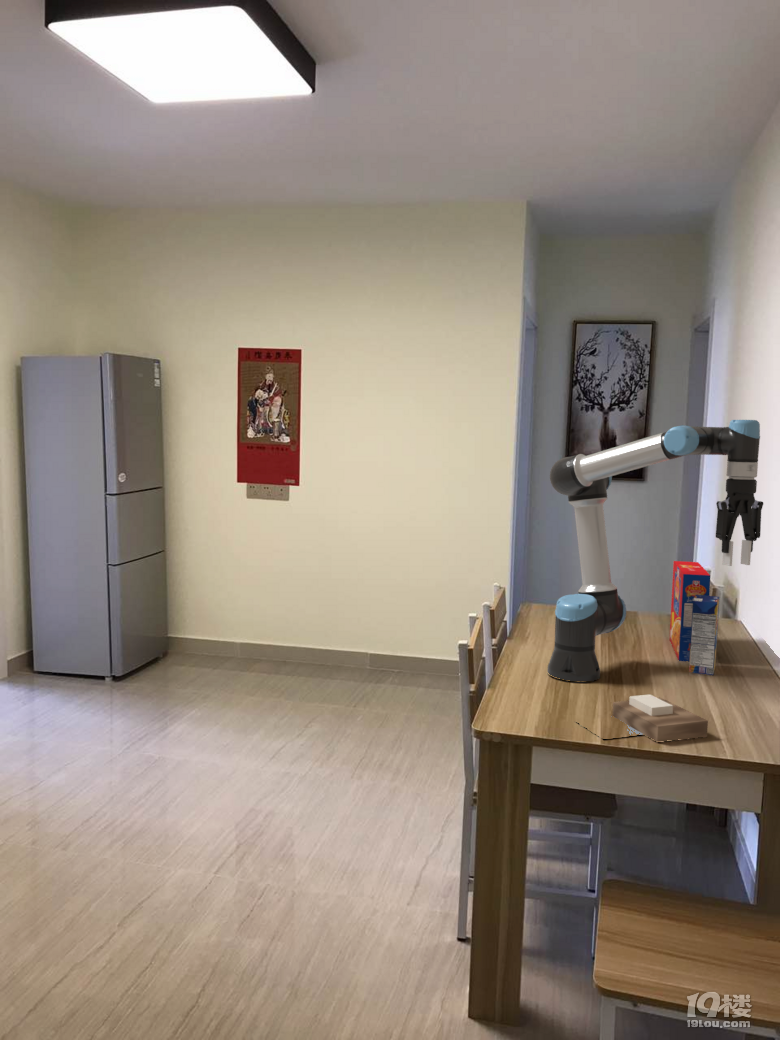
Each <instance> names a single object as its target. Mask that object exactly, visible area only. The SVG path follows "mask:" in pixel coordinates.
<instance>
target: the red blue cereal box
mask: <svg viewBox="0 0 780 1040" xmlns="http://www.w3.org/2000/svg"><path fill="white" fill-rule="evenodd" d="M672 565H673V566H672V567H673V568H672V583H671V584H672V586H671V600H670V601H671V603H670V604H671V607H670V621H669V622H670V625H669V638H668V639H669V642H671V643H670V645H671V644H672V645H671V647H672V649H673V651H675V652H674V654H675V656H676V657H677V660H679V661H678V662H686V661H688V663H689V662H690V644H691V626H692V609H693V600H694V597H695V595H705V596H710V589H711V574H709V572H708V571H707V570H706V569H705V568H704V566H702V565H701V563H699V562H697V561H682V560H681V561H679V560H673V564H672Z"/></svg>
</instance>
